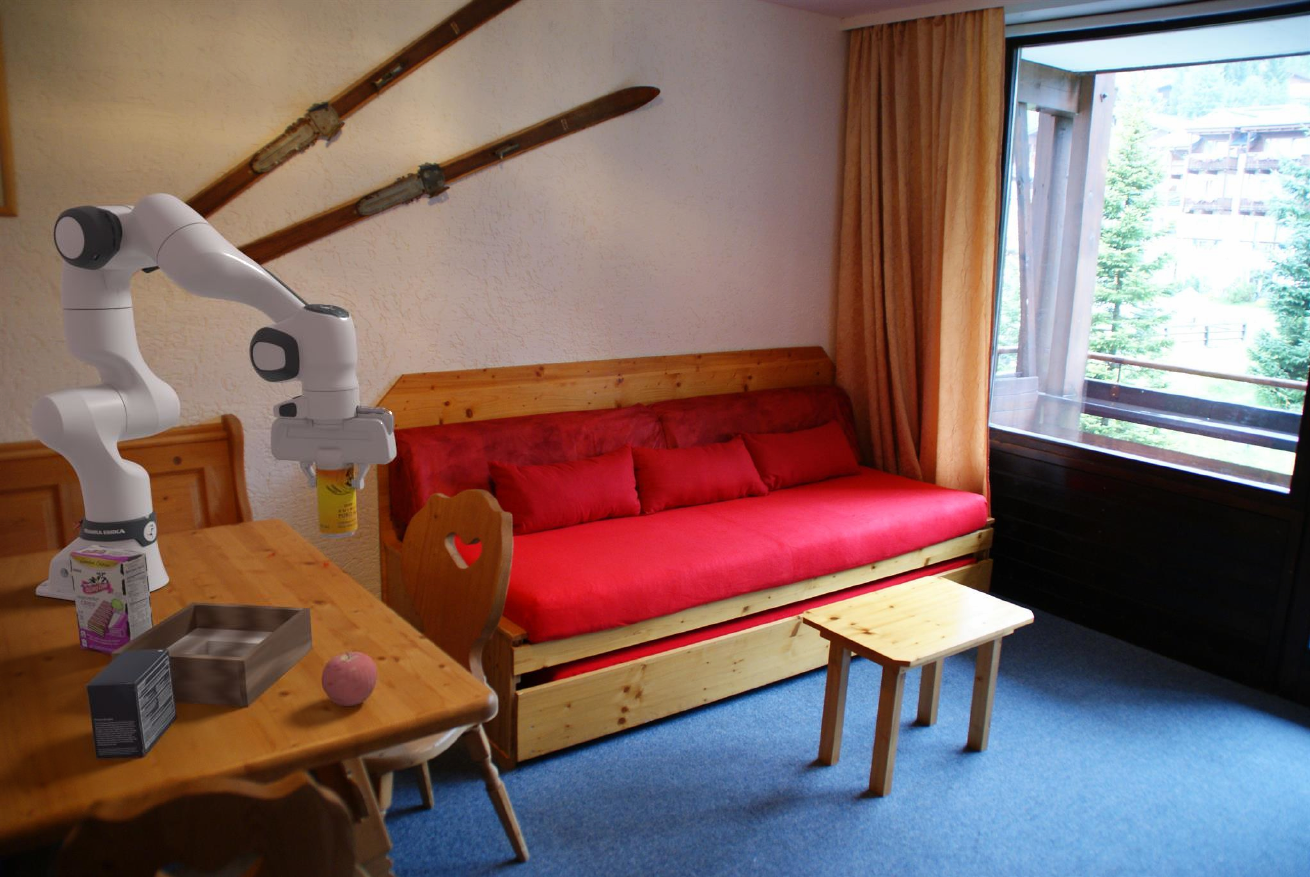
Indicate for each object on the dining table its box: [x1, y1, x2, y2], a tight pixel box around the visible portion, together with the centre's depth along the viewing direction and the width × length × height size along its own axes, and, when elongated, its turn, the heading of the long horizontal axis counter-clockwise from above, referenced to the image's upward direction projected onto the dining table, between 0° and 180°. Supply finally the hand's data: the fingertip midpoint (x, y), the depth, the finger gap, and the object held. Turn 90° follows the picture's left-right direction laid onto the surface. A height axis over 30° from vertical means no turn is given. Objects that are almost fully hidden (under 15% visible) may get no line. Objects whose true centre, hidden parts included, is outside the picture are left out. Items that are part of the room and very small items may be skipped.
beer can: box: [314, 448, 358, 539], centre depth 159 cm, size 6×6×15 cm
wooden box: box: [110, 601, 313, 708], centre depth 146 cm, size 20×20×7 cm
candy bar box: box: [69, 545, 154, 655], centre depth 153 cm, size 11×5×16 cm, turn 71°
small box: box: [86, 649, 178, 760], centre depth 126 cm, size 11×6×10 cm, turn 5°
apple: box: [321, 651, 378, 707], centre depth 136 cm, size 7×7×8 cm
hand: (336, 487), depth 159 cm, fingers closed on beer can, 6 cm apart
